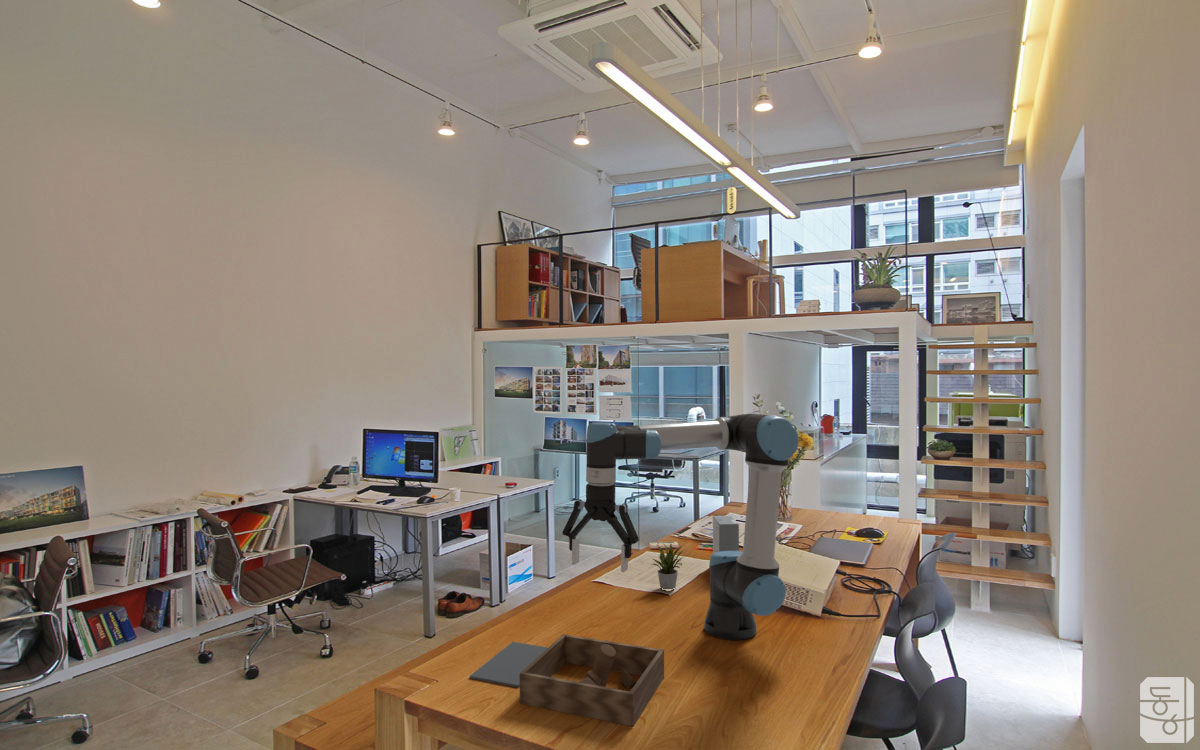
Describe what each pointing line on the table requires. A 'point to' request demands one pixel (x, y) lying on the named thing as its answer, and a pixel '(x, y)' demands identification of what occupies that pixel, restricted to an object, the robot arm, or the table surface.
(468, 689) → the table surface
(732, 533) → the hard drive box
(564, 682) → the crate
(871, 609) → the table surface
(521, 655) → the mat
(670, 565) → the house plant
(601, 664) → the wooden block set
